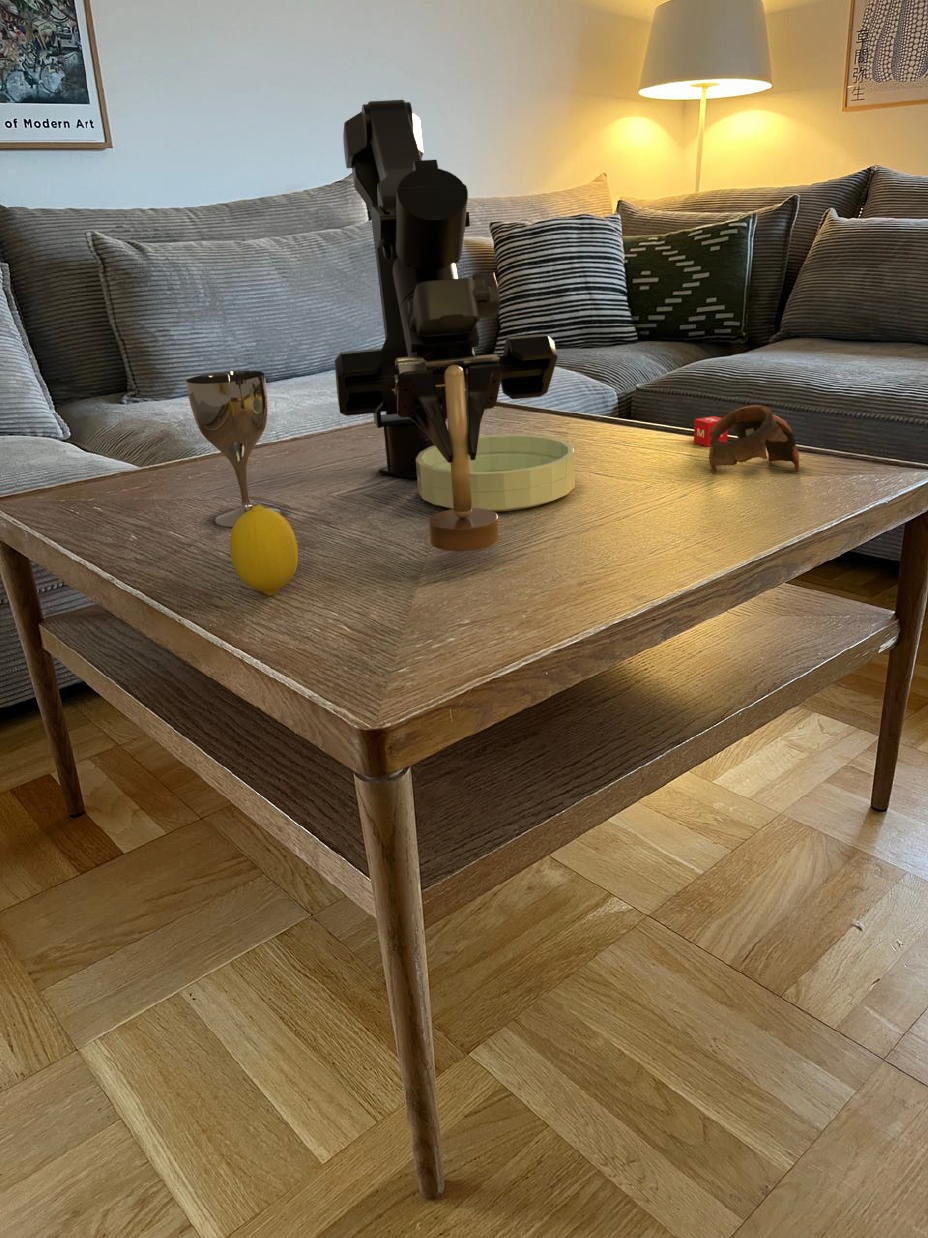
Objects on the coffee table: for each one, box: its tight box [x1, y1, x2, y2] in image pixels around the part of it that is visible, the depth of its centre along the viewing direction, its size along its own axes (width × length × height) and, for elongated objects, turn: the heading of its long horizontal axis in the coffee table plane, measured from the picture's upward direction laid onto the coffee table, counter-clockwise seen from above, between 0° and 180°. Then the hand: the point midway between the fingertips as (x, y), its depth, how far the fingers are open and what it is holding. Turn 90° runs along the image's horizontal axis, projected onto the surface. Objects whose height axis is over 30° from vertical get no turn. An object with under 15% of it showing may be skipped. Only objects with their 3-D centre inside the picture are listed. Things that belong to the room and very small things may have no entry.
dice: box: [693, 415, 729, 448], centre depth 117 cm, size 3×3×3 cm
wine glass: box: [185, 370, 282, 528], centre depth 97 cm, size 8×8×15 cm
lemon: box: [229, 504, 299, 597], centre depth 76 cm, size 6×6×8 cm
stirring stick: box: [428, 365, 500, 552], centre depth 77 cm, size 6×6×15 cm
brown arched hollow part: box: [708, 404, 801, 473], centre depth 104 cm, size 12×10×8 cm
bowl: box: [416, 434, 576, 513], centre depth 102 cm, size 17×17×4 cm
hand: (462, 458), depth 76 cm, fingers closed on stirring stick
